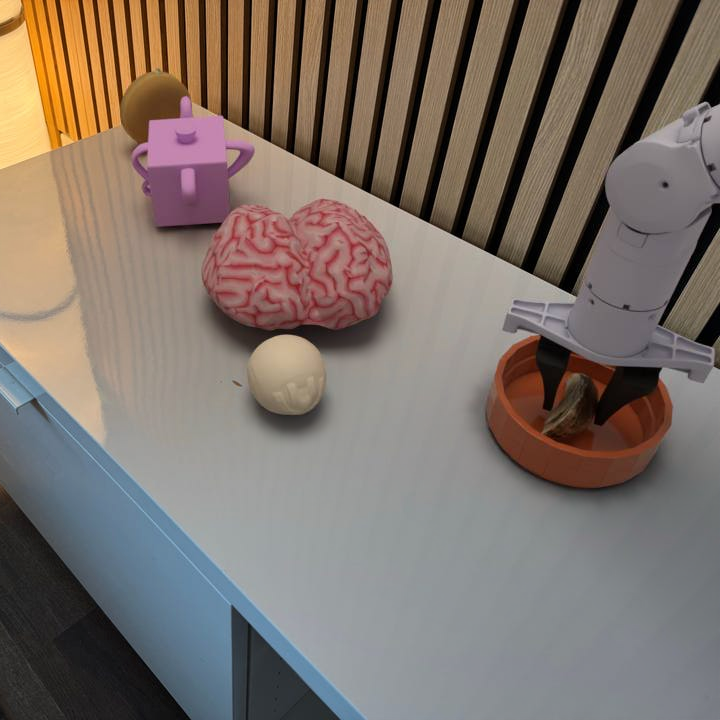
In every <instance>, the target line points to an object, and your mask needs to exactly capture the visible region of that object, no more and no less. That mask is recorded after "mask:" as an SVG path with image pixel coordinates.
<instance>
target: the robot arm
mask: <svg viewBox="0 0 720 720" xmlns="http://www.w3.org/2000/svg"><path fill="white" fill-rule="evenodd" d="M604 183H605V184H604V188H605V196H606V199H607V202H608V205H609V206H610V209H609V212H608V214H607V216H606V219H605V221H604V224H603V226H602V229H601V232H600V234H599V236H598V239H597V243H596V244H595V248H594V250H593V253H592V256H591V258H590V261H589V263H588V266H587V269H586V272H585V275H584V276H583V280H582V282H581V285H580V287H579V291H578V294H577V295H576V298H575V301H574V302H567V301H566V302H565V301H564V302H563V301H535V300H525V299H520V298H516V297H511V300H510V303H509V305H508V309H507V312H506V316H505V319H504V322H503V326H502V329H501V330H502V331H503V332H506V333H510V334H517V332H518V330H519V331H524V332H527V333H532V334H535V335H541V336H540V339H539V343H538V347H537V350H536V364H537V366H538V368H539V370H540V373H541V376H542V380H543V386H544V403H543V407H542V408H543V409H544V410H548V411H551V409H552V407H553V405H554V401H555V397H556V393H557V389H558V387H559V385H560V382H561V380H562V378H563V376H564V374H565V372H566V370H567V366H568V362H569V357H570V354H571V352H572V351H573V352H575V353H577V354H579V355H581V356H583V357H585V358H587V359H589V360H591V361H594V362H596V363H600V364H604V365H611V366H616V369H615V371H614V374H613V376H612V378H611V380H610V381H609V383H608V385H607V387H606V388H605V390H604V392H603V394H602V395H601V397H600V400H599V402H598V405H597V409H596V413H595V419H594V424H596V425H599V426H603V425H604V423H605V422H606V421H607V420H608V419H609V418H610V417H611V416H612V415H613V414H615V413H616V412H617V411H618V410H620V409H621V408H622V407H624V406H625V405H627V404H628V403H630V402H632V401H634V400H636V399H639V398H641V397H644V396H648V395H650V394H651V393H652V392H653V391H654V390H655V388H656V387H657V385H658V382H659V378H660V373H662V372H661V371H662V370H663V368H666V369H670V370H673V371H677V372H680V373H685V374H687V379H688V380H690V381H692V382H696V383H700V384H704V383H705V381H706V380H707V378H708V377H709V375H710V374H711V372H712V370H713V368H714V366H715V357H716V356H715V355H716V354H715V353H716V348H714V347H712V346H709V345H705V344H702V343H699V342H696V341H694V340H691V339H689V338H686V337H684V336H682V335H680V334H678V333H676V332H674V331H671V330H670V329H668V328H665V327H663V326H661V325H659V322H660V321H661V320H662V319H661V318H662V316H663V314H664V312H665V310H666V308H667V306H668V304H669V303H670V300H671V298H672V296H673V294H674V292H675V290H676V288H677V286H678V284H679V281H681V280H680V279H681V277H682V276H683V274H684V272H685V269H686V267H687V265H688V264H689V262H690V259H691V256H692V255H693V254H694V252H695V249H696V247H697V244H698V241H699V238H700V236H701V234H702V232H703V230H704V228H705V226H706V224H707V222H708V220H709V218H710V216H711V214H712V211H713V210H712V207H711V206H712V205H714V204H720V103H719V104H717V105H715V106H713V107H712V106H711V105H710V103H709V102H707V101H704V102H702V103H699V104H697V105H695V106H692V107H690V108H689V109H687V110H686V111H684V112H683V113H682V115H681V117H680V118H677V119H675V120H674V121H671V122H670V123H668V124H666V125H665V126H662V128H659V129H658V130H656V131H655V132H653V133H651V134H649V135H647V136H646V137H644V138H642V139H641V140H638V141H636V142H634V143H633V144H632V145H630V146H629V147H628V148H627V149H625V150H624V151H623V152H622V153H621V154H619V155H618V156H617V157H616V158H615V159H614V160H613V161H612V163H611V164H610V166H609V168H608V170H607V173H606V176H605V181H604Z"/></svg>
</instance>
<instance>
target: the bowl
mask: <svg viewBox="0 0 720 720" xmlns="http://www.w3.org/2000/svg"><path fill="white" fill-rule="evenodd" d="M540 336H541V335H539V334H535V335H531V336H528V337H526V338H524V339H522V340H520V341H518V342H515V343H514V344H512V345H511V346H510V347H509V348H508V349H507V350H506V351H505V352H504V354H502V356H501V357H500V358H499V360H498V363H497V366H496V370H495V372H494V376H493V379H492V383H491V386H490V389H489V393H488V396H487V400H486V403H485V410H486V417H487V424H488V427H489V429H490V430H491V432H492V435H493V436H494V438H495V440H496V441H497V444H499V446H500V447H501V448H502V450H504V452H505V454H507V455H508V456H509V457H510V458H511V459H512V460H513V461H514V462H515V463H517V464H518V465H520V466H521V467H523V469H525V470H527V471H529V472H530V473H532V474H533V475H535V476H537V477H540V478H542V479H544V480H546V481H550V482H553V483H555V484H560V485H562V486H567V487H573V488H582V489H595V488H597V489H599V488H603V487H610V486H614V485H620V484H624V483H626V482H627V481H629V480H631V479H632V478H634V477H637V476H638V475H639V474H641V473H642V472H644V470H645V469H646V468H647V466H648V465H649V463H650V462H651V460H652V459H653V458H654V456H655V454H656V453H657V450H658V449H659V447H660V446H661V444H662V442H663V441H664V439H665V437H666V435H667V434H668V432H669V431H670V429H671V427H672V423H673V411H674V404H673V401H672V399H671V396H670V394H669V390H668V388H667V386H666V384H665V383H664V382H663V380H662V379H661V378H660V377H659V382H658V385H657V387H656V388H655V390H654V391H653V392H652V393H651V394H650V395H648V396H644V397H641V398H639V399H636V400H634V401H632V402H630V403H628V404H627V405H625V406H624V407H622V408H621V409H620V410H618V411H617V412H616V413H615V414H613V415H612V416H611V417H610V418H609V419H608V420H607V421H606V422H605V423H604V425H603V426H599V425H596V424H594V419H595V416H594V418H593V420H592V422H591V423H590V424H589V426H588V427H587V428H586V429H585V430H584V431H582V432H580V433H578V434H574V435H573V436H570V437H568V438H566V439H563V440H559V441H554V440H552V439H551V438H549V437H547V436H545V435H543V434H542V432H543V430H544V427H545V422H546V420H547V419H548V417H549V416H550V414H551V413H552V412H553V410H554V409H555V408H556V407H557V406H558V405H559V404H560V402H561V400H562V399H563V398H564V392H565V387H566V383H565V380H566V379H567V378H569V376H571V375H572V374H575V373H581V374H585V375H587V376H589V377H590V378H591V379H592V380H593V382H594V384H595V385H596V387H597V389H598V395H599V397H598V400H600V397H601V395H602V394H603V392H604V390H605V388H606V387H607V385H608V383H609V381H610V380H611V378H612V376H613V374H614V371H615V369H616V366H611V365H604V364H600V363H596V362H594V361H591V360H589V359H587V358H585V357H583V356H581V355H579V354H577V353H575V352H573V351H572V352H571V354H570V357H569V362H568V366H567V370H566V372H565V374H564V376H563V378H562V380H561V382H560V385H559V387H558V389H557V393H556V397H555V401H554V405H553V407H552V409H551V411H548V410H544V409H543V408H542V407H543V403H544V386H543V380H542V376H541V373H540V370H539V368H538V366H537V364H536V350H537V347H538V343H539V339H540ZM598 402H599V401H598Z"/></svg>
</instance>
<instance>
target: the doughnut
mask: <svg viewBox="0 0 720 720" xmlns="http://www.w3.org/2000/svg"><path fill="white" fill-rule="evenodd" d="M185 96H187V97H189V98H190V101H191V108H192V109H193V104H192V102H193V101H192V98H191V94H190V92H189V90H188V89H187V87H186V86H185V85H184V84H183V83H182V82H181V81H180V80H179V79H178V78H177V77H176V76H175V75H173V74H171V73H169V72H166V71H161V67H156V68H155V69H154V70H153V71H150V72H146V73H144V74H142V75H139V76H138V77H136V78H135V79H134V80H133V81H132V82H131V83H130V84H129V85H128V87H127V88H126V90H125V92H124V94H123V96H122V98H121V101H120V106H119V117H120V122H121V125H122V128H123V129H124V131H125V133H126V134H127V135H128V136H129V137H130V139H132V140H134V141H135V142H136V143H138V145H140V144H143V143H147V142H148V136H149V121H150V120H164V119H179V118H180V113H181V99H182V98H183V97H185Z"/></svg>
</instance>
